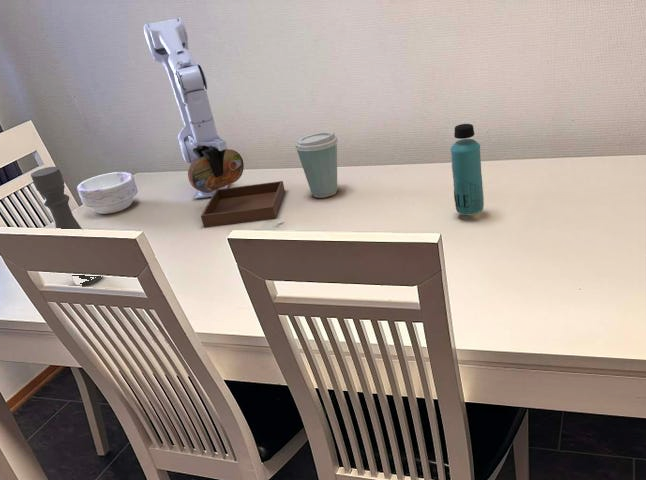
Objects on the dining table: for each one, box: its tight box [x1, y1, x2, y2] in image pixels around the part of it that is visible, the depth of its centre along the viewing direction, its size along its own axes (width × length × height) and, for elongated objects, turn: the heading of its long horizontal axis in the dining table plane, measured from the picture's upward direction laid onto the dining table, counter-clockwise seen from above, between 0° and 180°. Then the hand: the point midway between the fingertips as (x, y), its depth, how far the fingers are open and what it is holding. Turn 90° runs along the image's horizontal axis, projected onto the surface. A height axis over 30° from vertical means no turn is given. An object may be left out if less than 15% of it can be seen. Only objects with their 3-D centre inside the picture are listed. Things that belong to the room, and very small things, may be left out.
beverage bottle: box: [450, 123, 485, 215], centre depth 151 cm, size 6×7×20 cm
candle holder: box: [30, 166, 103, 287], centre depth 151 cm, size 6×6×25 cm
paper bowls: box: [76, 171, 139, 215], centre depth 195 cm, size 15×15×8 cm
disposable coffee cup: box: [295, 130, 339, 199], centre depth 178 cm, size 11×11×15 cm
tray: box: [200, 180, 286, 228], centre depth 180 cm, size 18×18×3 cm
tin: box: [187, 148, 245, 193], centre depth 176 cm, size 15×3×8 cm, turn 132°
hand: (216, 174), depth 176 cm, fingers closed on tin, 2 cm apart
